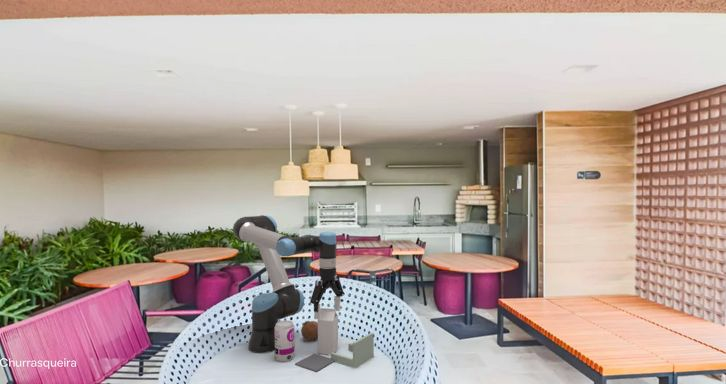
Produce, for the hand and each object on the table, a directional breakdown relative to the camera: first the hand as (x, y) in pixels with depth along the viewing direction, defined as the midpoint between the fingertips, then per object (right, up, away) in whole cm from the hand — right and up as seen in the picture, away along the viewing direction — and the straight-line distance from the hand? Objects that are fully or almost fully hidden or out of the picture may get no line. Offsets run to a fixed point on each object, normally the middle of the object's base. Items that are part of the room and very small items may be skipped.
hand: (327, 314), depth 170 cm
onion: (-9, -17, +14) cm, 23 cm away
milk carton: (0, -16, 0) cm, 16 cm away
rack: (+11, -16, -8) cm, 21 cm away
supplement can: (-18, -17, -7) cm, 25 cm away
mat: (-4, -16, -12) cm, 20 cm away
